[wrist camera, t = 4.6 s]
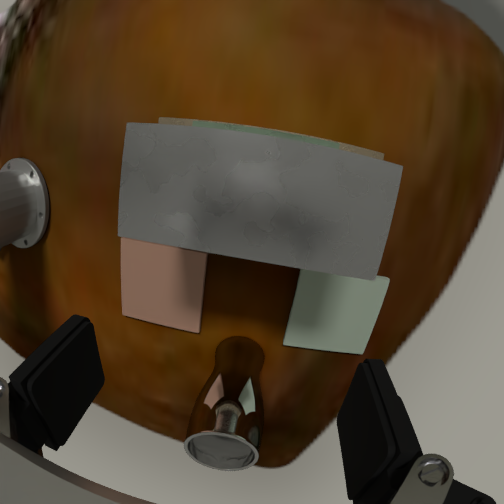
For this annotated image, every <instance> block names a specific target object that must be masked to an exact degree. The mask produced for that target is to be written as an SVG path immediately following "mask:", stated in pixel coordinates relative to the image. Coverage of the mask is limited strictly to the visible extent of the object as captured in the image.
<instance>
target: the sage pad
mask: <svg viewBox="0 0 504 504" xmlns="http://www.w3.org/2000/svg"><path fill="white" fill-rule="evenodd" d="M389 282H390V280H389V278H388V277H382V276H376V279H375V281H371V280H365V279H359V278H353V277H347V276H341V275H335V274H329V273H323V272H317V271H312V270H306V269H300V274H299V278H298V282H297V287H296V291H295V295H294V299H293V304H292V308H291V312H290V316H289V320H288V324H287V328H286V332H285V336H284V340H283V345H288V346H295V347H303V348H310V349H318V350H326V351H335V352H345V353H355V354H363V352H364V350H365V347H366V345H367V342H368V340H369V337H370V335H371V332H372V330H373V327H374V325H375V322H376V319H377V317H378V314H379V311H380V308H381V306H382V303H383V300H384V297H385V294H386V291H387V288H388V285H389Z"/></svg>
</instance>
